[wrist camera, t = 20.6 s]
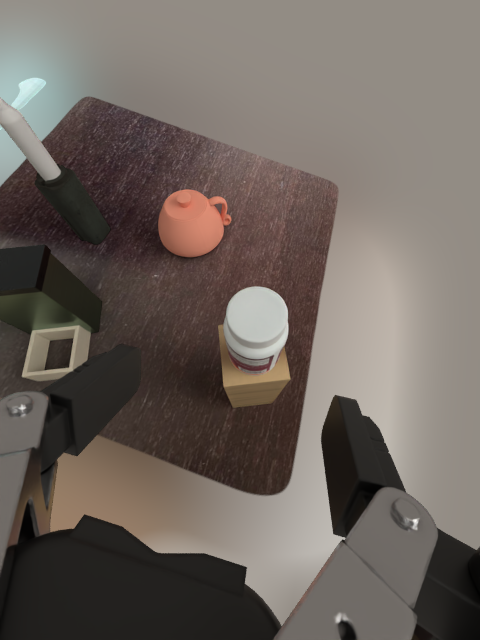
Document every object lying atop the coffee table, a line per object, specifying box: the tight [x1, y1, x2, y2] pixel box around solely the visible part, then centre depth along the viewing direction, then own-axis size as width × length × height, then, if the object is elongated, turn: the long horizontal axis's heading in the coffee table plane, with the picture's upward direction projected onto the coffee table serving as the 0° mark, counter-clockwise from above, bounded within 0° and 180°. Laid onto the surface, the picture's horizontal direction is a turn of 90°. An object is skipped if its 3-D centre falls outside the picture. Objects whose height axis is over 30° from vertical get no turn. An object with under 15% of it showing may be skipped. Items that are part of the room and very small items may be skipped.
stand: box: [218, 325, 290, 408], centre depth 33 cm, size 6×6×18 cm
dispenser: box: [0, 245, 102, 334], centre depth 39 cm, size 6×10×15 cm, turn 96°
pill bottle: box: [223, 287, 288, 376], centre depth 21 cm, size 5×5×8 cm
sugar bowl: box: [158, 190, 231, 257], centre depth 48 cm, size 12×14×10 cm
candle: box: [0, 97, 110, 244], centre depth 43 cm, size 5×5×25 cm
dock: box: [22, 325, 91, 381], centre depth 42 cm, size 7×7×4 cm
